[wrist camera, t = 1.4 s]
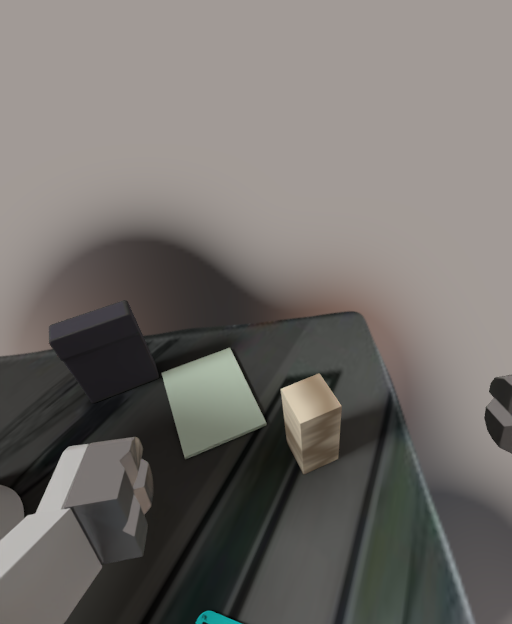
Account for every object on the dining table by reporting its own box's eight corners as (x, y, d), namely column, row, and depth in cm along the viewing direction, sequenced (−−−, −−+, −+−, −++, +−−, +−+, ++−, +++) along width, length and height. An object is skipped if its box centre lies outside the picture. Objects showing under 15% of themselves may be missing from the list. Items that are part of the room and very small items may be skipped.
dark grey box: (155, 362, 66) (125, 295, 56) (160, 380, 63) (130, 313, 53) (90, 387, 64) (47, 322, 54) (92, 407, 61) (47, 342, 50)
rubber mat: (185, 459, 52) (184, 457, 52) (162, 375, 64) (161, 372, 63) (266, 425, 55) (266, 422, 54) (230, 349, 66) (229, 347, 66)
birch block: (303, 474, 49) (300, 423, 41) (286, 441, 53) (280, 388, 45) (338, 458, 50) (341, 406, 42) (319, 427, 54) (319, 373, 46)
